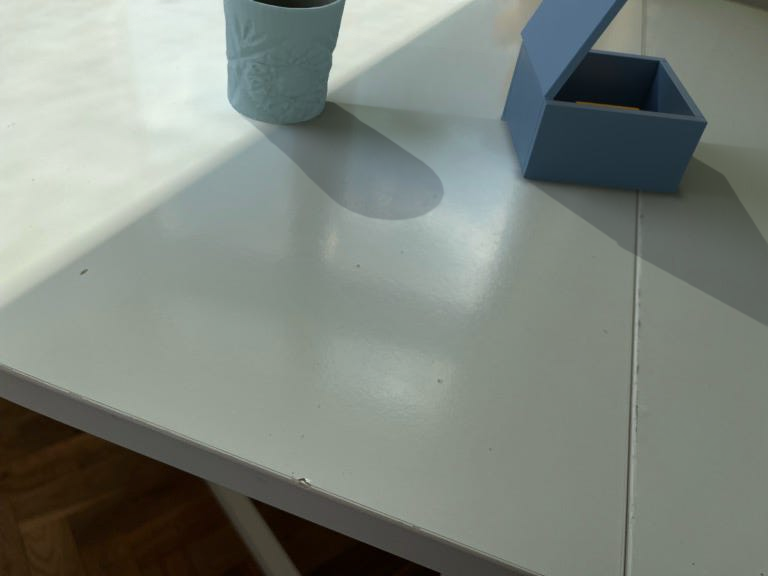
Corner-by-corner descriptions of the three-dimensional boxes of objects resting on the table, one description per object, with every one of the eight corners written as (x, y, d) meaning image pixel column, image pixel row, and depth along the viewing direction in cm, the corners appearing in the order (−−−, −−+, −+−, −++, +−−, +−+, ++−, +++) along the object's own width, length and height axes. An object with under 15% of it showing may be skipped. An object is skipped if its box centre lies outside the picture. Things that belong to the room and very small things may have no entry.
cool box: (633, 136, 78) (665, 57, 72) (669, 205, 69) (708, 122, 63) (500, 121, 76) (522, 40, 70) (519, 190, 67) (546, 104, 62)
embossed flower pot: (254, 74, 76) (258, -53, 68) (350, 104, 74) (366, -22, 66) (200, 119, 68) (197, -17, 61) (305, 154, 67) (317, 18, 59)
